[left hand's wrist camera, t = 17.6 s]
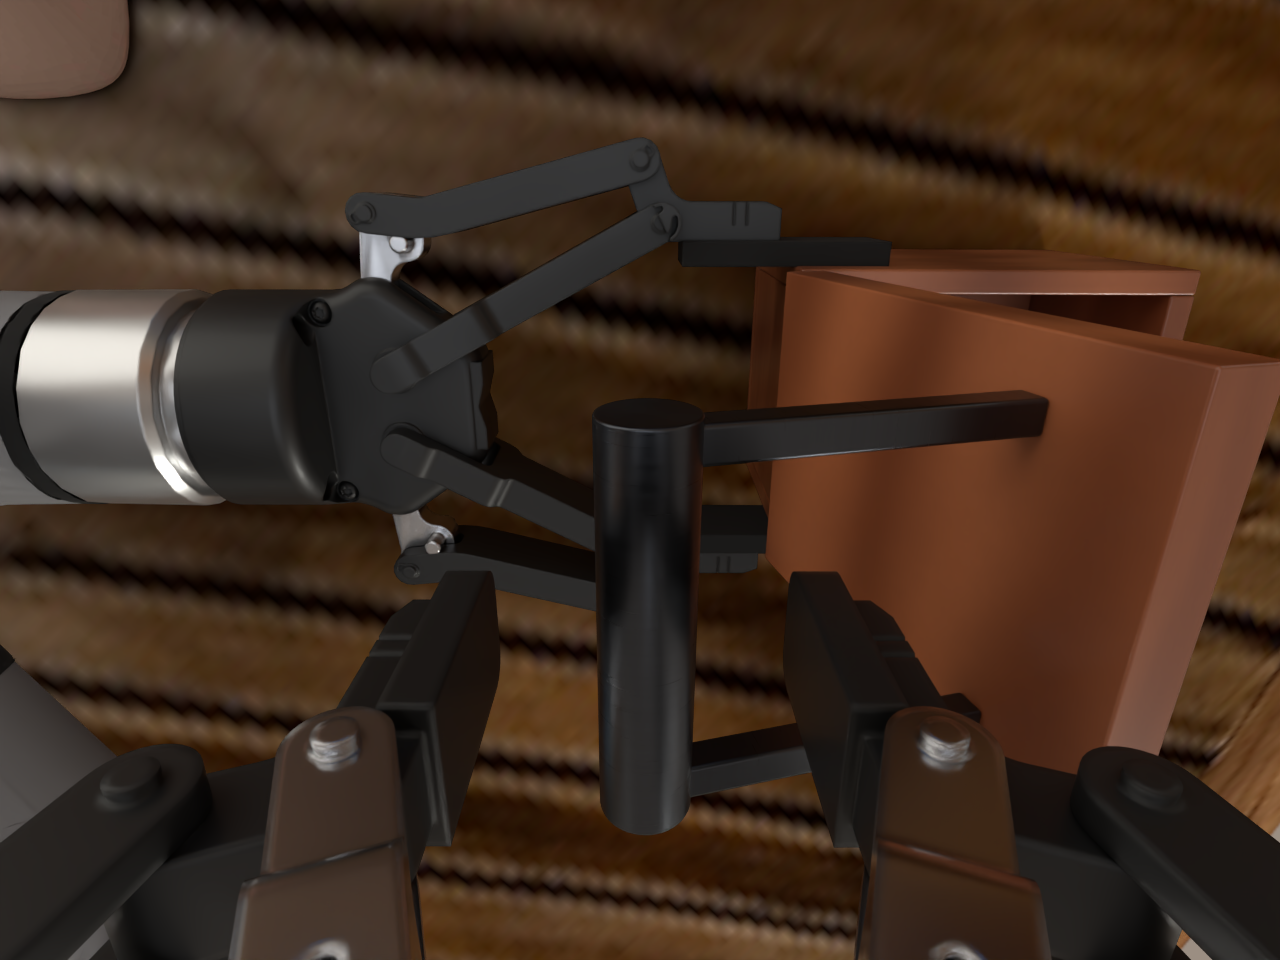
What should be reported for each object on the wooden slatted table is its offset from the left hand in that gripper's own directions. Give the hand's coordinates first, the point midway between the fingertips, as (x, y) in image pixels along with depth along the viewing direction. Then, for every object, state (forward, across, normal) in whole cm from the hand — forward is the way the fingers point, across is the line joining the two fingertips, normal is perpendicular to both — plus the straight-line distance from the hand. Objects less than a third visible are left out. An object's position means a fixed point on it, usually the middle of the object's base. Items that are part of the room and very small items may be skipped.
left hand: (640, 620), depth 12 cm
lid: (+5, -7, 0) cm, 9 cm away
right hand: (+14, -8, 0) cm, 16 cm away
